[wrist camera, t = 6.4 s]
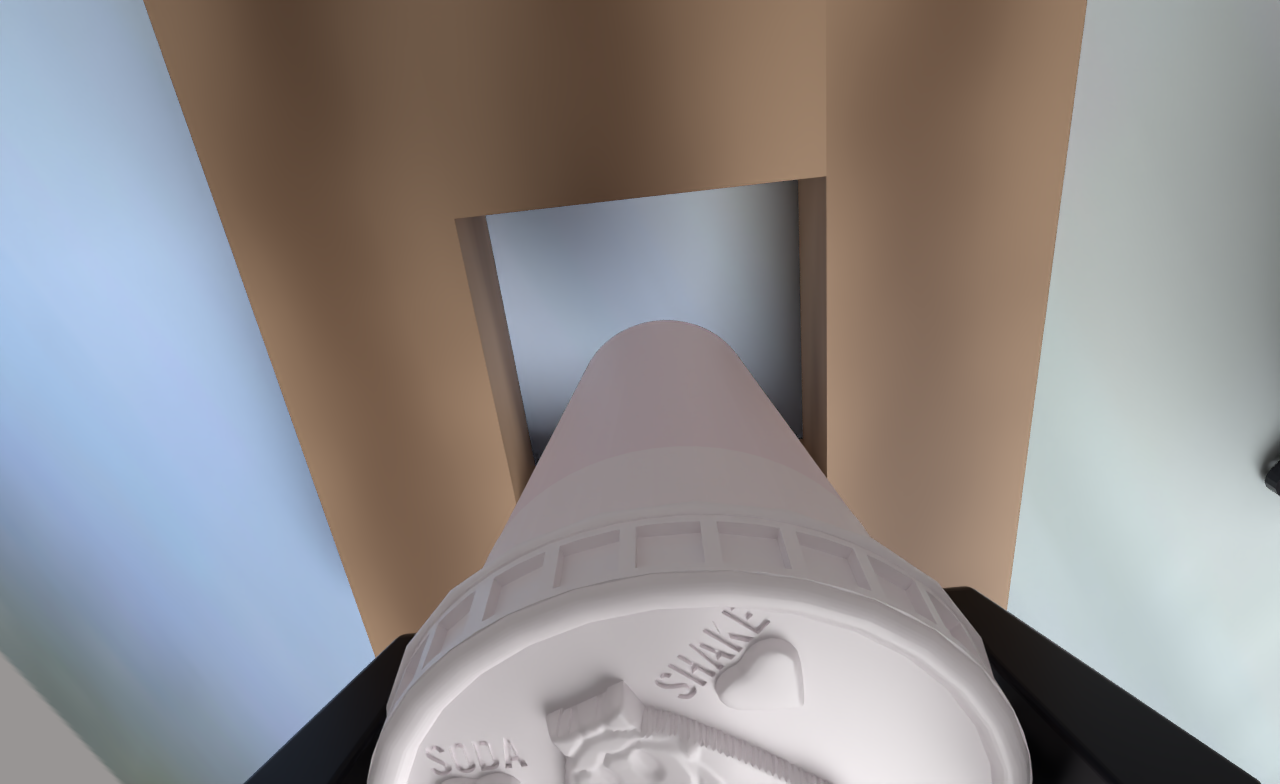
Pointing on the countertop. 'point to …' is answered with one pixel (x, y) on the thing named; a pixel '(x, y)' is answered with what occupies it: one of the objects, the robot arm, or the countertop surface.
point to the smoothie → (692, 612)
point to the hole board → (623, 169)
